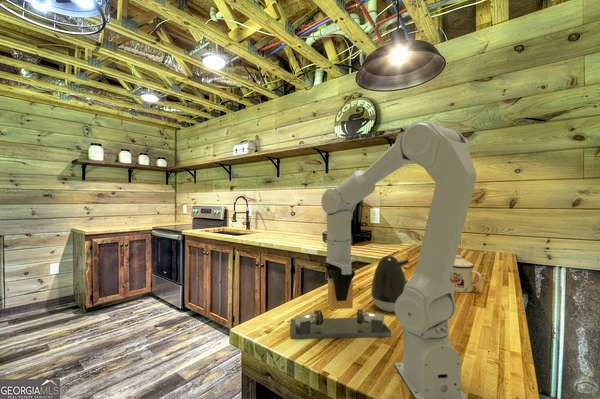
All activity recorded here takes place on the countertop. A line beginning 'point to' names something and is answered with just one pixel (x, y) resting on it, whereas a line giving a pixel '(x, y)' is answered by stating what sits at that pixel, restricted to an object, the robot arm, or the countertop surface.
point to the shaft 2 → (371, 320)
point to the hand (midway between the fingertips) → (339, 296)
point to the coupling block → (333, 301)
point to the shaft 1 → (308, 321)
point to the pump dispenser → (388, 283)
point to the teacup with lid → (463, 275)
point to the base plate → (339, 329)
